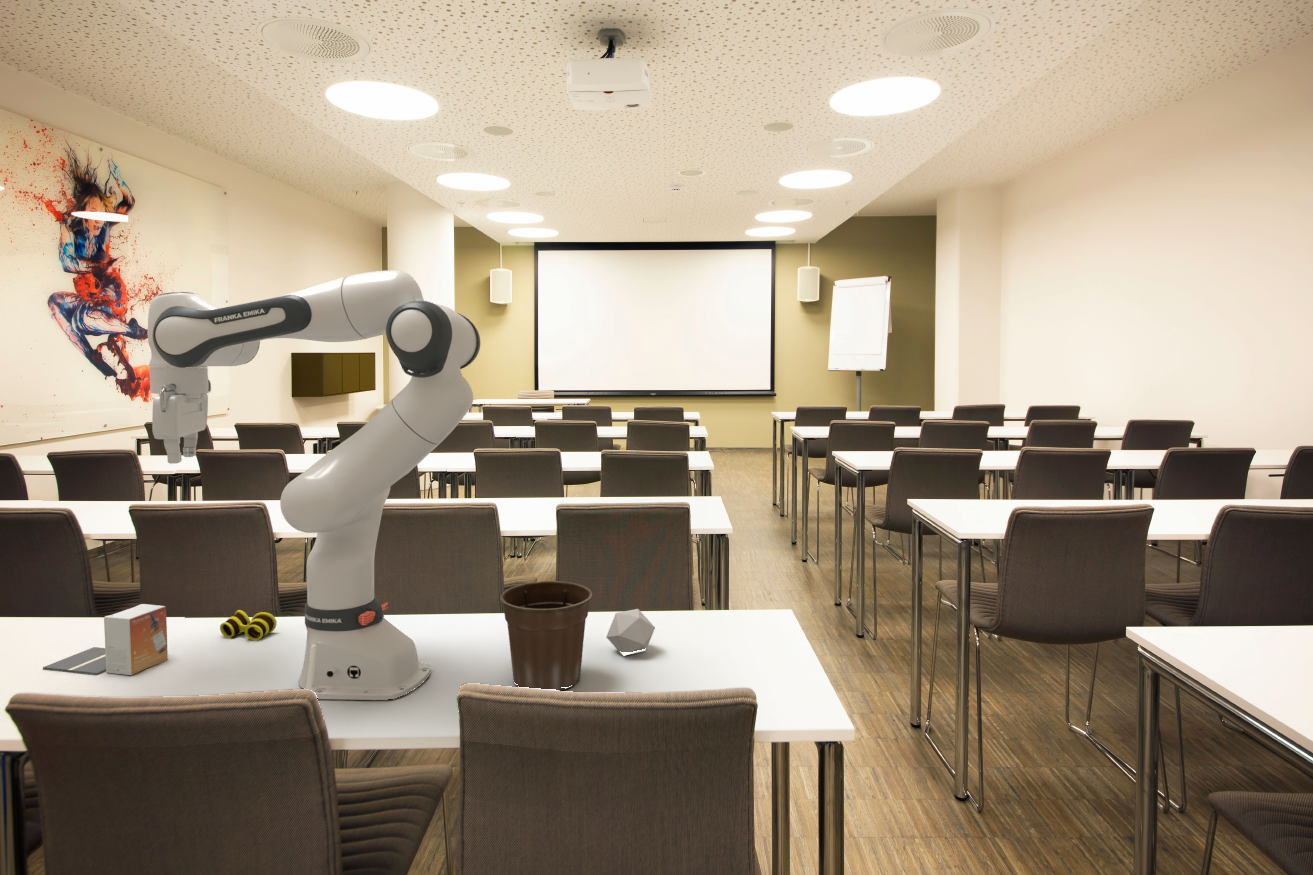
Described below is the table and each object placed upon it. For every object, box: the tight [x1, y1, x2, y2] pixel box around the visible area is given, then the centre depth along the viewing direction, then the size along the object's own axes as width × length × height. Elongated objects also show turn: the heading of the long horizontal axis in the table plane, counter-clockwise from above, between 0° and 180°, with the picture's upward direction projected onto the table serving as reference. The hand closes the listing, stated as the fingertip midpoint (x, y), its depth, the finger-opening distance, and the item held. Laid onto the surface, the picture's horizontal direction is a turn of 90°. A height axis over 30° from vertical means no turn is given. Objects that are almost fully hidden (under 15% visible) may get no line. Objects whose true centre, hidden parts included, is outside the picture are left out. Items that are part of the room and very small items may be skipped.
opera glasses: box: [219, 609, 278, 641], centre depth 152 cm, size 10×5×5 cm, turn 80°
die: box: [606, 608, 656, 652], centre depth 147 cm, size 8×9×10 cm
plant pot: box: [500, 580, 593, 691], centre depth 132 cm, size 16×16×16 cm
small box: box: [103, 603, 169, 676], centre depth 135 cm, size 8×6×10 cm
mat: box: [42, 646, 106, 676], centre depth 137 cm, size 12×10×1 cm
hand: (182, 459), depth 133 cm, fingers open, 8 cm apart
